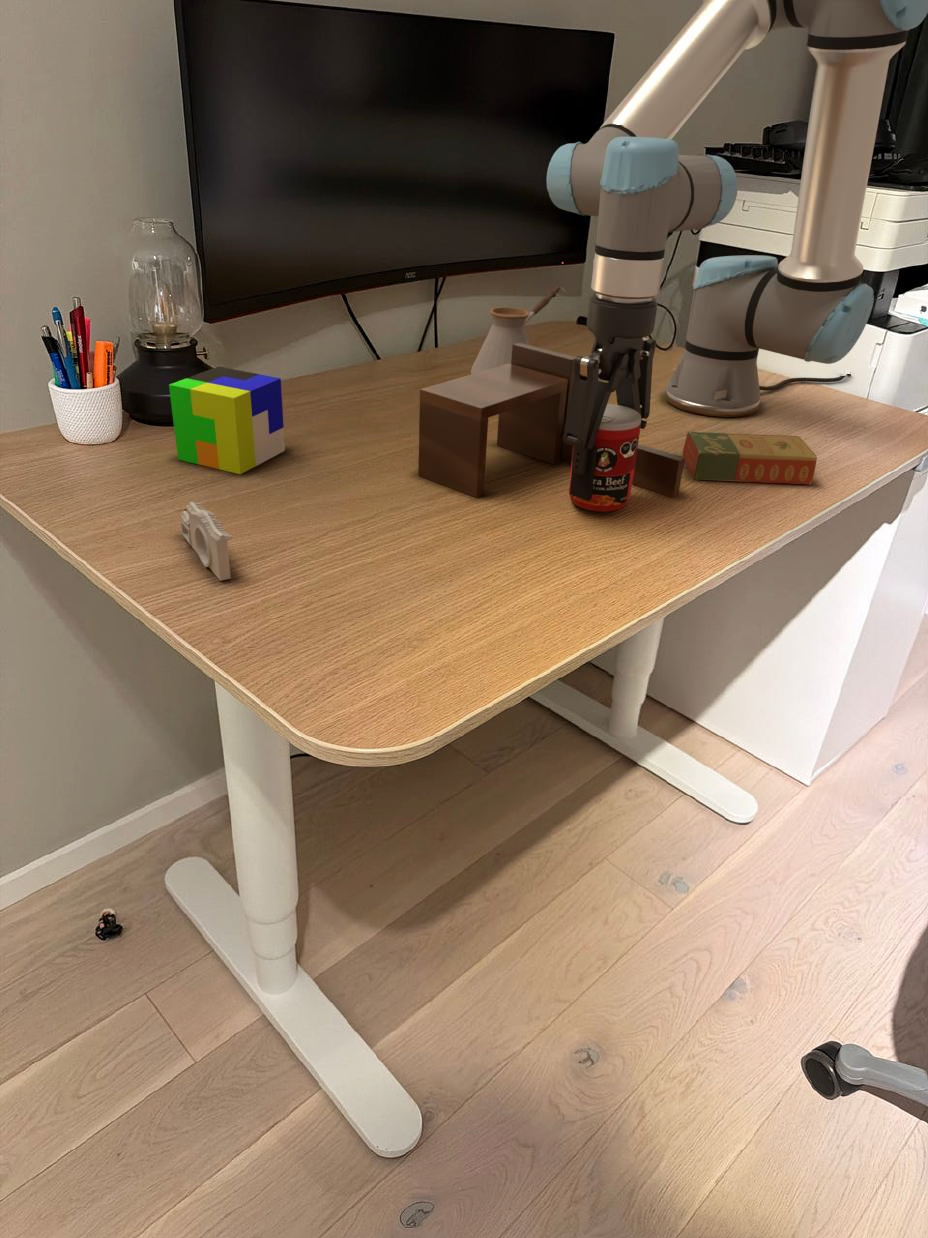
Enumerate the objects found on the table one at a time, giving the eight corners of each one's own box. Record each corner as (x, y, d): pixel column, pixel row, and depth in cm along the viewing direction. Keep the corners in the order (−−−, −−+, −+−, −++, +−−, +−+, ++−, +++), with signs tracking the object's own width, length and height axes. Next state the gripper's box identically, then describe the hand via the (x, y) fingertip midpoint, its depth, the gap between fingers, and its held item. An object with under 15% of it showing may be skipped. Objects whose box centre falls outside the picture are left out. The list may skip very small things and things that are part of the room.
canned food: (565, 509, 110) (574, 421, 105) (569, 484, 117) (578, 400, 111) (629, 515, 109) (641, 427, 104) (629, 489, 116) (641, 406, 110)
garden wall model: (180, 537, 101) (174, 488, 98) (196, 534, 102) (190, 485, 99) (218, 584, 92) (213, 531, 89) (235, 579, 93) (230, 527, 90)
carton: (811, 486, 122) (819, 456, 120) (692, 480, 122) (697, 450, 120) (793, 463, 129) (800, 434, 127) (681, 457, 129) (686, 428, 127)
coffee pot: (512, 405, 146) (519, 309, 139) (456, 389, 152) (460, 296, 144) (581, 378, 161) (590, 290, 153) (527, 365, 167) (534, 279, 159)
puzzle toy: (285, 450, 125) (280, 378, 120) (240, 474, 117) (233, 397, 112) (225, 437, 128) (218, 366, 123) (178, 459, 120) (168, 384, 115)
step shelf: (511, 439, 133) (518, 342, 125) (678, 494, 118) (697, 387, 111) (417, 475, 119) (420, 368, 112) (593, 542, 104) (608, 424, 97)
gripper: (643, 277, 109) (619, 456, 121) (540, 303, 96) (525, 502, 108) (699, 287, 105) (669, 472, 117) (600, 316, 92) (577, 521, 103)
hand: (600, 486), depth 112 cm, fingers closed on canned food, 8 cm apart
